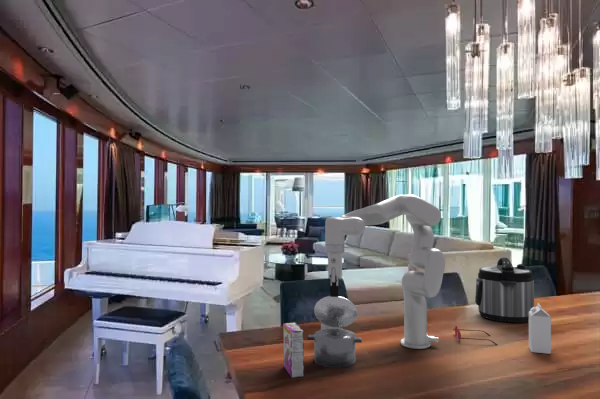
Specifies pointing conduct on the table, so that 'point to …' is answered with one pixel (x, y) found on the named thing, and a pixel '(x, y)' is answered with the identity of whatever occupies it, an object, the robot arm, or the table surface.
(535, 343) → the milk carton
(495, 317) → the pressure cooker
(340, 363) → the pot
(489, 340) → the glasses
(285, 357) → the candy bar box
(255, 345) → the table surface
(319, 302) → the lid
